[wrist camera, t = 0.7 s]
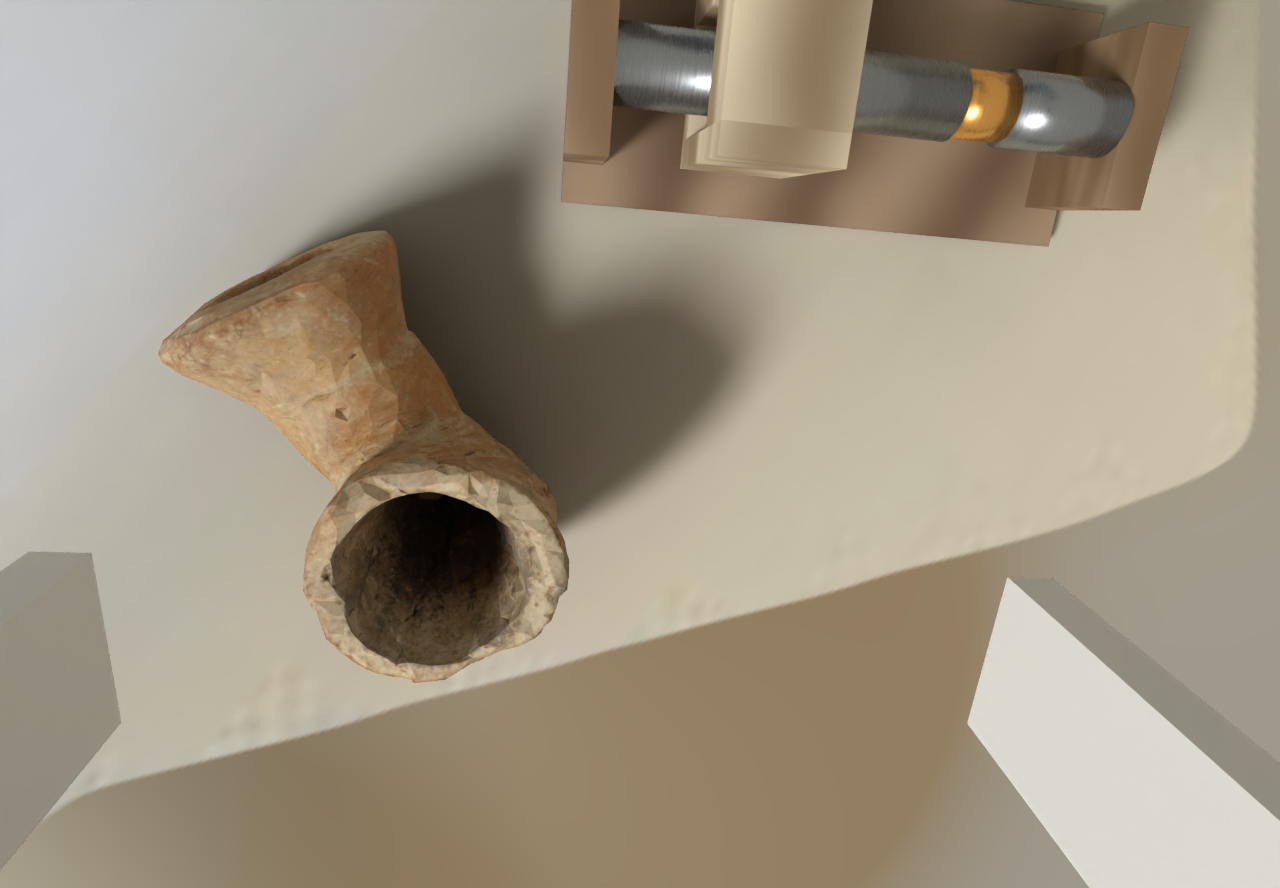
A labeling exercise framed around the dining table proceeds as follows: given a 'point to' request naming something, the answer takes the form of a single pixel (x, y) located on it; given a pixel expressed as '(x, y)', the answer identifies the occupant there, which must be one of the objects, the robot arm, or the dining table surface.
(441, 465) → the pipe
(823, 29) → the collar
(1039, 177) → the cradle
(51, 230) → the dining table surface
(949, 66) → the rod
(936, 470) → the dining table surface
